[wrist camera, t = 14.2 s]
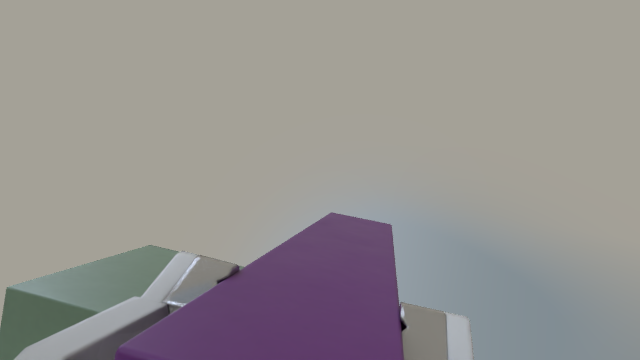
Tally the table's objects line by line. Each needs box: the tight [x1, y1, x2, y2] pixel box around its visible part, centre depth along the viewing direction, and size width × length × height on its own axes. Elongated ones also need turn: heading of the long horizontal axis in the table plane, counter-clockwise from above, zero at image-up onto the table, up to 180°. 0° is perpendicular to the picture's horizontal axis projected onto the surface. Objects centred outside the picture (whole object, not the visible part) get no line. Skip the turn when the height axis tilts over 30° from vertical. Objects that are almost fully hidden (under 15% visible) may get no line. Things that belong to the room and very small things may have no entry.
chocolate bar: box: [114, 213, 404, 360], centre depth 15 cm, size 4×21×2 cm, turn 170°
